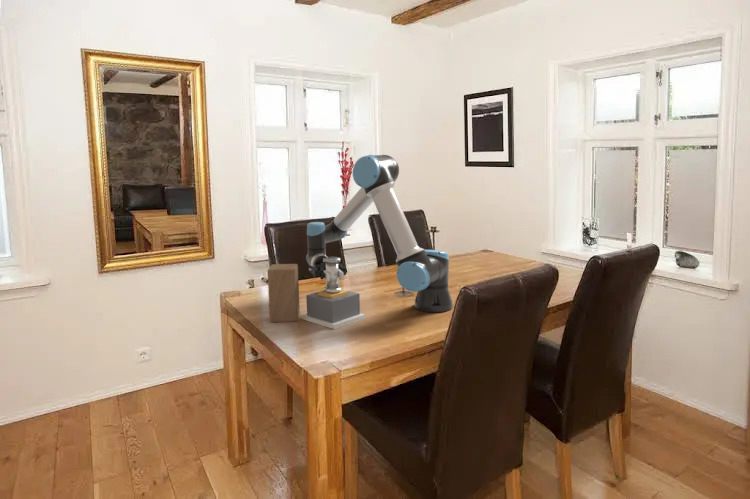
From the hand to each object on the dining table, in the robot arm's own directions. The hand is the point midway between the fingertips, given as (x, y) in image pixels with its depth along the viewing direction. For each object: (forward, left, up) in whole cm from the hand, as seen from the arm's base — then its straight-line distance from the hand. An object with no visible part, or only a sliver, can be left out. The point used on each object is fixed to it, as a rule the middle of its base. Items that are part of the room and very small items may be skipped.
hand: (335, 277), depth 191 cm
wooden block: (+20, +8, -17) cm, 28 cm away
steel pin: (+5, -3, -14) cm, 15 cm away
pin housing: (+5, -3, -17) cm, 18 cm away
